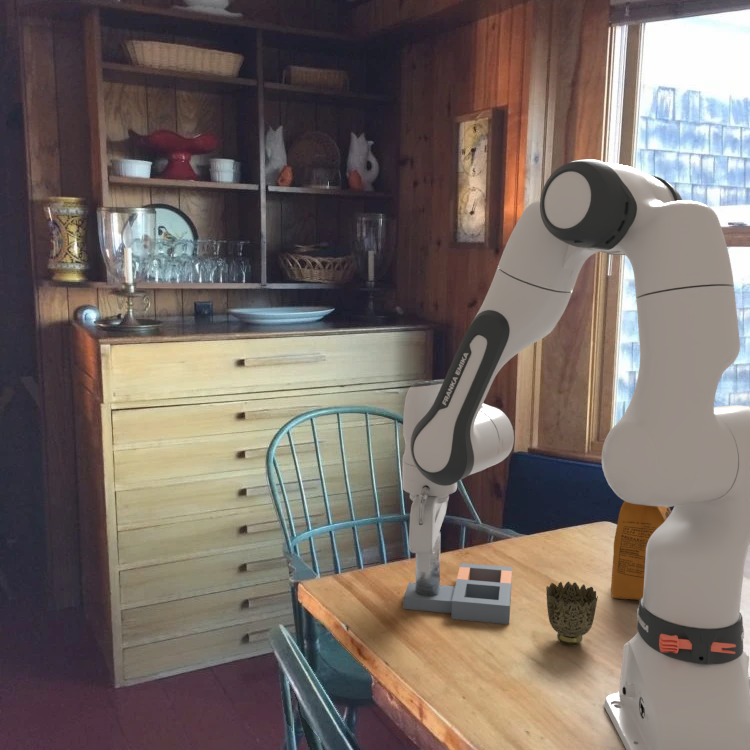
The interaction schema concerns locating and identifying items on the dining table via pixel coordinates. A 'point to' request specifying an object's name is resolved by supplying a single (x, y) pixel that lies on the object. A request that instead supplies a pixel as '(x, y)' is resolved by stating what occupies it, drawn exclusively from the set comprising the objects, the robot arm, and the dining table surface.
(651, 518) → the coffee package
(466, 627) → the dining table surface
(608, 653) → the dining table surface
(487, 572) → the rack
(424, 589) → the peg
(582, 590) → the cup
